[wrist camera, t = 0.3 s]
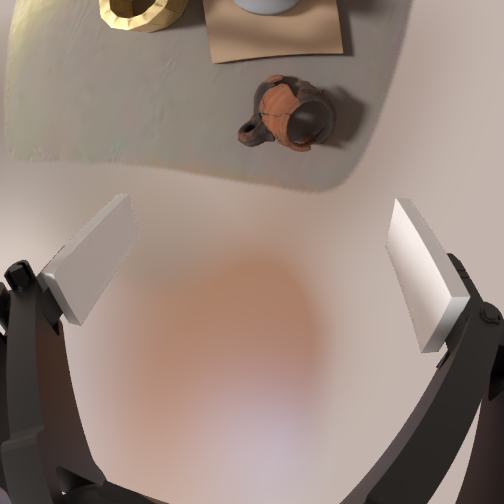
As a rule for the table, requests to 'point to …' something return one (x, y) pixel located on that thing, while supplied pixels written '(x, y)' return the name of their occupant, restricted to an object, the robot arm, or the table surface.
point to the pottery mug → (283, 115)
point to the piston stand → (271, 28)
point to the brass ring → (155, 18)
